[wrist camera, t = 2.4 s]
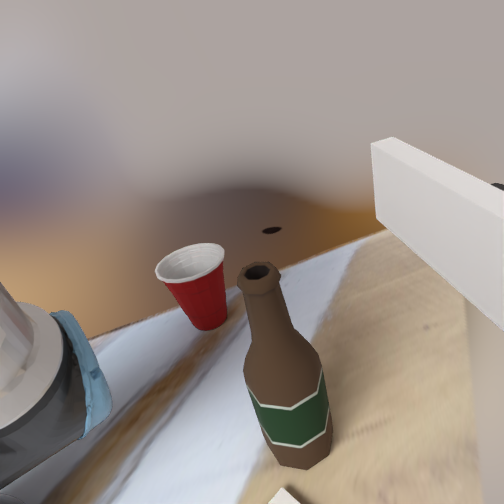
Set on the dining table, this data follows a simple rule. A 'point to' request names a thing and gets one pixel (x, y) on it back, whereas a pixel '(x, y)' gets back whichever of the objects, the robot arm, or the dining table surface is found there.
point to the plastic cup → (197, 283)
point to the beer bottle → (283, 374)
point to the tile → (283, 498)
